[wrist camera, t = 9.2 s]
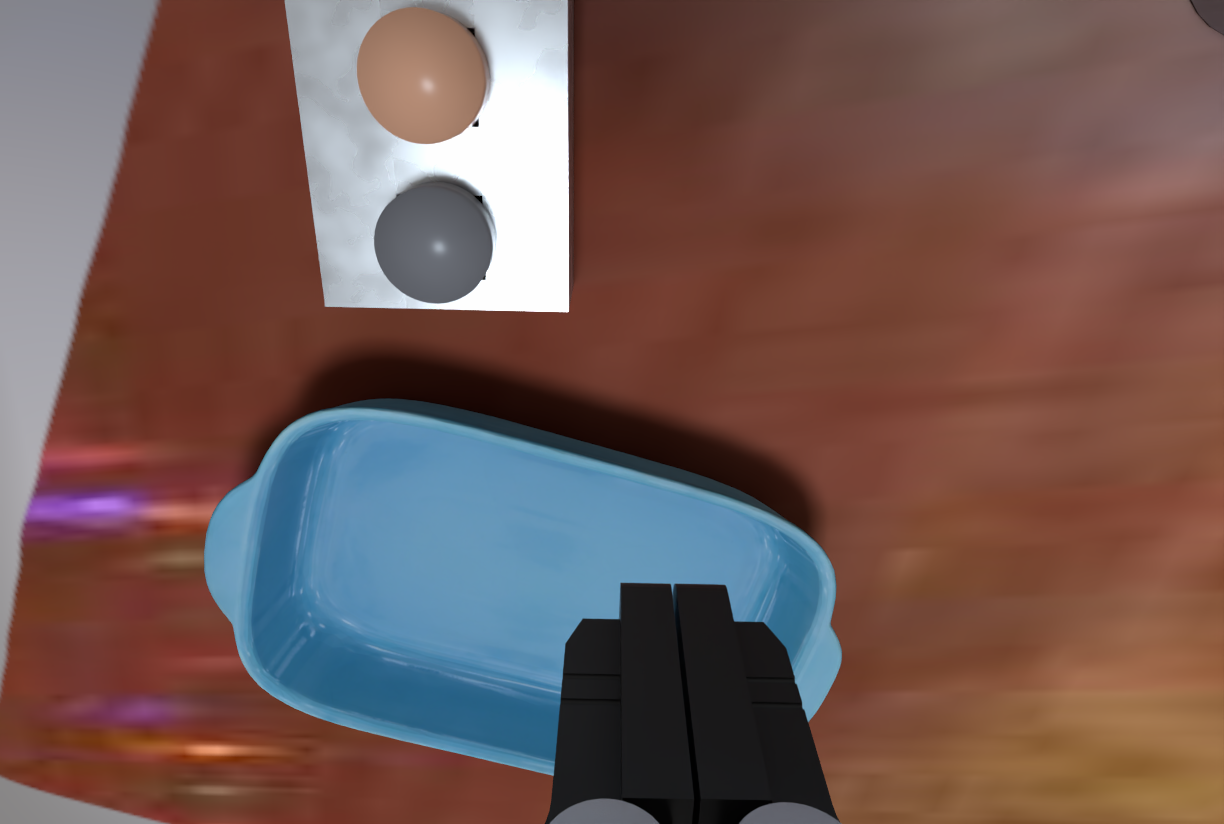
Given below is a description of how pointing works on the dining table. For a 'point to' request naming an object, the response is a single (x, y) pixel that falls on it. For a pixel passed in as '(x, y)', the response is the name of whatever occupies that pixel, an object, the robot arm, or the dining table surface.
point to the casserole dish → (480, 570)
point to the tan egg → (422, 75)
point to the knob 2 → (435, 242)
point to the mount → (444, 150)
